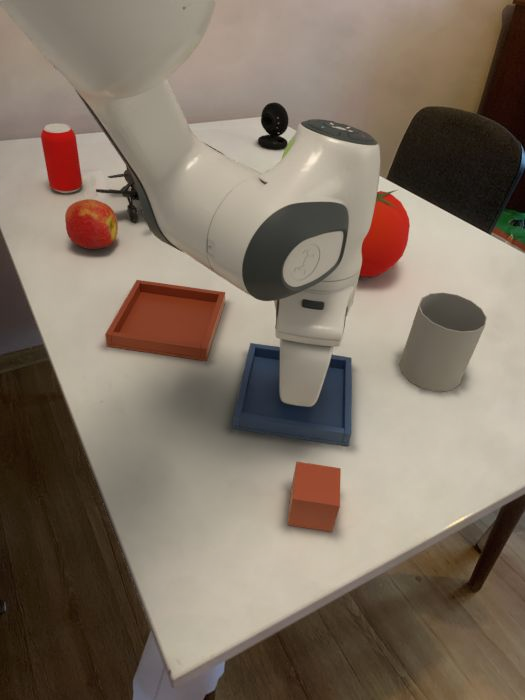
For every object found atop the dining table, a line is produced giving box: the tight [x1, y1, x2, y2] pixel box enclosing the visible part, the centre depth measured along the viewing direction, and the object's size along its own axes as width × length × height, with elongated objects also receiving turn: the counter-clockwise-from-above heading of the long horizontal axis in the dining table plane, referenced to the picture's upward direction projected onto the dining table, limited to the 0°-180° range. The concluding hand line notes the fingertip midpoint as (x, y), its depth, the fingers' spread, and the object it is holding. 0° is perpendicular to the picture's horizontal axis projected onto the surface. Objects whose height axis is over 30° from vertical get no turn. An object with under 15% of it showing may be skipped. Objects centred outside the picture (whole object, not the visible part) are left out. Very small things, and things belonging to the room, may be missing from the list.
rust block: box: [287, 461, 342, 533], centre depth 54 cm, size 4×4×4 cm
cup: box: [399, 292, 488, 393], centre depth 71 cm, size 8×8×10 cm
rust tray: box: [104, 279, 226, 362], centre depth 76 cm, size 14×14×2 cm
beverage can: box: [40, 122, 83, 194], centre depth 104 cm, size 6×6×12 cm
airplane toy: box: [95, 165, 142, 223], centre depth 99 cm, size 20×19×15 cm
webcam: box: [257, 102, 289, 150], centre depth 133 cm, size 8×8×10 cm
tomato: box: [359, 189, 411, 278], centre depth 88 cm, size 16×14×14 cm
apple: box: [64, 198, 119, 250], centre depth 89 cm, size 8×8×8 cm
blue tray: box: [232, 342, 353, 447], centre depth 67 cm, size 14×14×2 cm
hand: (298, 377), depth 66 cm, fingers closed on blue block, 4 cm apart
